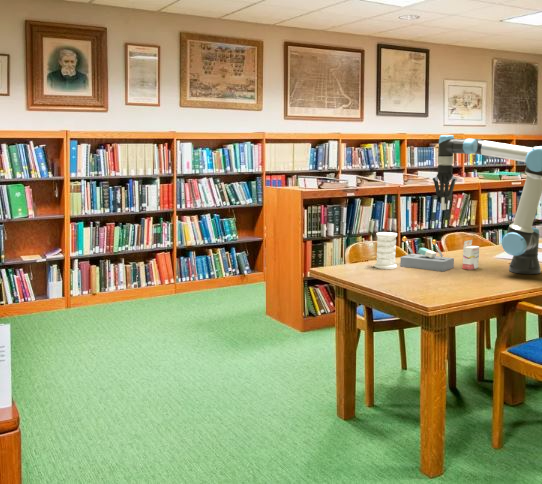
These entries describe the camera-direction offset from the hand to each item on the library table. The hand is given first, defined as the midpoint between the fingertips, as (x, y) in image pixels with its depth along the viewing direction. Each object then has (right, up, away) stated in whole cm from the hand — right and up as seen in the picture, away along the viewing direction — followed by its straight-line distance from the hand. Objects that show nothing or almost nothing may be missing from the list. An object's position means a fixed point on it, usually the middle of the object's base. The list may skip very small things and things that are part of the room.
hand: (443, 209), depth 341 cm
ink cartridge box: (+14, -31, -2) cm, 34 cm away
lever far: (-15, -23, +6) cm, 29 cm away
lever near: (-2, -25, -4) cm, 25 cm away
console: (-8, -30, +2) cm, 32 cm away
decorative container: (-30, -31, +1) cm, 43 cm away
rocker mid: (-9, -24, +1) cm, 26 cm away
